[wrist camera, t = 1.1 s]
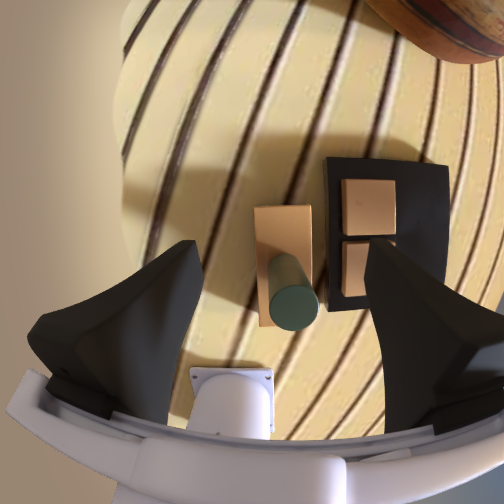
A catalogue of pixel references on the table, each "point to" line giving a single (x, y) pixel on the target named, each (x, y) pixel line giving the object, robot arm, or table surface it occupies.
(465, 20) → the ceramic pitcher
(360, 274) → the chip
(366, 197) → the chip
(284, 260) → the brush
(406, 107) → the table surface
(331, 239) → the enamel panel
